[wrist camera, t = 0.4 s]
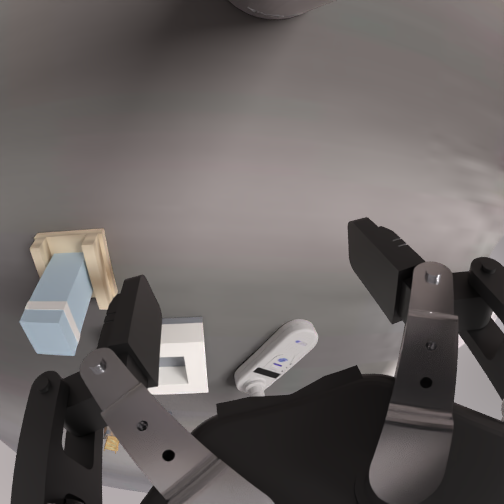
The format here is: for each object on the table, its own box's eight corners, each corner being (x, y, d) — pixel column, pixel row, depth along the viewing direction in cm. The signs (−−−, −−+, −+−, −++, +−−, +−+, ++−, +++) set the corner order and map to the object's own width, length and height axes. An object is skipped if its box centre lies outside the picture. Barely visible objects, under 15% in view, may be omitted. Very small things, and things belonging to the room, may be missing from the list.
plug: (53, 253, 28) (18, 321, 20) (87, 251, 28) (58, 322, 20) (63, 284, 30) (36, 353, 22) (96, 283, 31) (75, 356, 22)
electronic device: (345, 378, 34) (267, 435, 39) (319, 323, 42) (254, 383, 47) (317, 369, 32) (236, 431, 37) (292, 311, 40) (226, 375, 45)
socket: (113, 319, 35) (109, 344, 32) (202, 316, 37) (204, 341, 34) (132, 371, 41) (130, 394, 38) (206, 369, 43) (208, 392, 40)
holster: (37, 233, 27) (26, 248, 25) (103, 228, 29) (96, 244, 26) (56, 292, 31) (49, 309, 29) (117, 291, 33) (113, 309, 30)
